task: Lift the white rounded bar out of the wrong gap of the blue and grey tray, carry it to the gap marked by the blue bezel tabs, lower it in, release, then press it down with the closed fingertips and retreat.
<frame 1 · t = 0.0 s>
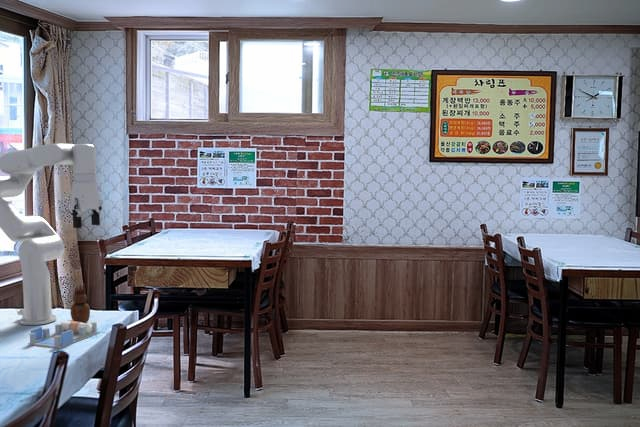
hand: (86, 226, 234), 37 cm above the table, tool pointing down, fingers open, 9 cm apart
white rounded bar: (76, 326, 227), point 3 cm above the table, touching blue and grey tray
blue and grey tray: (64, 338, 221), on the table
wooden figurine: (80, 323, 242), on the table
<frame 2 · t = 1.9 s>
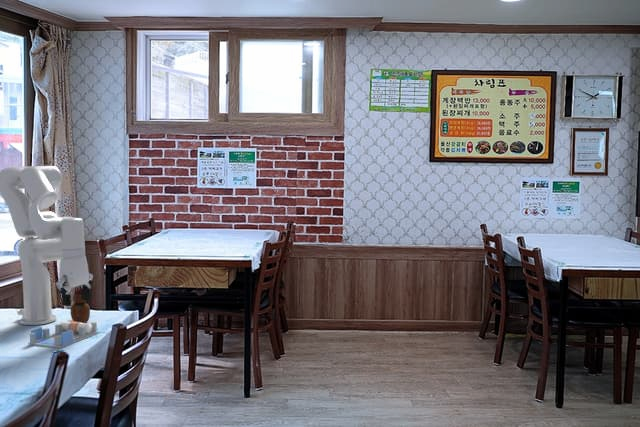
hand: (76, 302, 226), 11 cm above the table, tool pointing down, fingers open, 9 cm apart
white rounded bar: (75, 327, 227), point 3 cm above the table, tilted 8°, touching blue and grey tray
everything else where it was.
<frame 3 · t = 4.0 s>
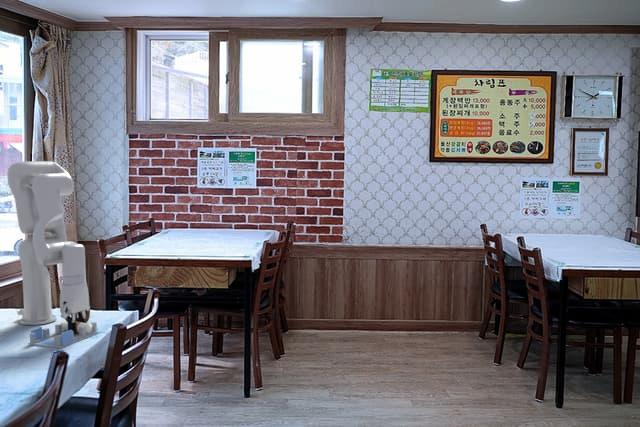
hand: (76, 331, 227), 1 cm above the table, tool pointing down, fingers closed on white rounded bar, 3 cm apart
white rounded bar: (76, 326, 227), point 3 cm above the table, tilted 8°, touching blue and grey tray, gripper
everything else where it was.
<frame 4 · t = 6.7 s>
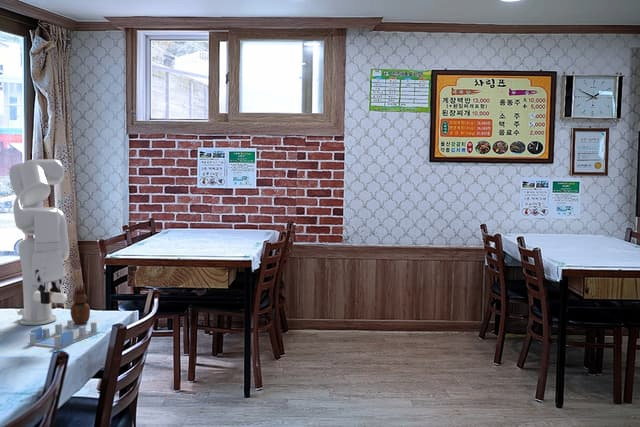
hand: (50, 301, 214), 14 cm above the table, tool pointing down, fingers closed on white rounded bar, 3 cm apart
white rounded bar: (49, 297, 214), point 16 cm above the table, tilted 7°, touching gripper
everything else where it was.
when the fingers open (2 cm above the table, at t = 9.4 s): white rounded bar drops 1 cm, resting on blue and grey tray.
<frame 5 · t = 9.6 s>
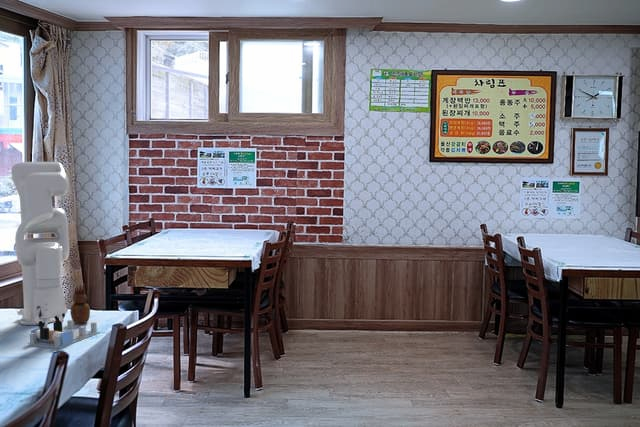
hand: (51, 336, 216), 2 cm above the table, tool pointing down, fingers open, 5 cm apart
white rounded bar: (51, 335, 216), point 3 cm above the table, tilted 8°, touching blue and grey tray
everything else where it was.
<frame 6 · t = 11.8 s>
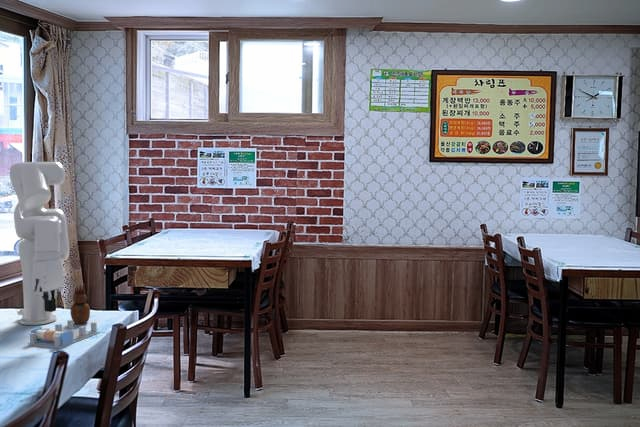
hand: (50, 310, 215), 11 cm above the table, tool pointing down, fingers closed
nothing on the table moved.
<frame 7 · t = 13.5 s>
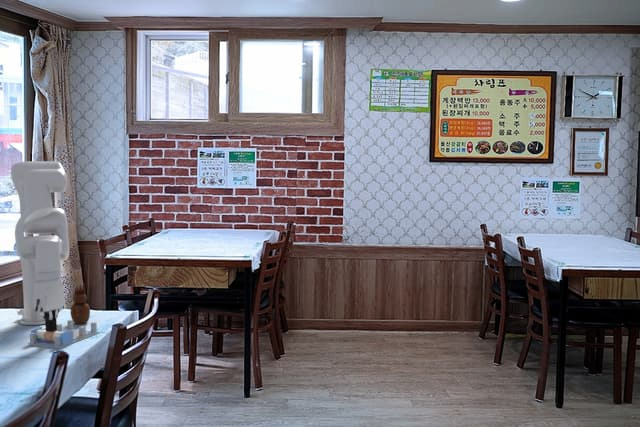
hand: (51, 330, 215), 4 cm above the table, tool pointing down, fingers closed
white rounded bar: (51, 335, 216), point 3 cm above the table, touching blue and grey tray, gripper
everything else where it was.
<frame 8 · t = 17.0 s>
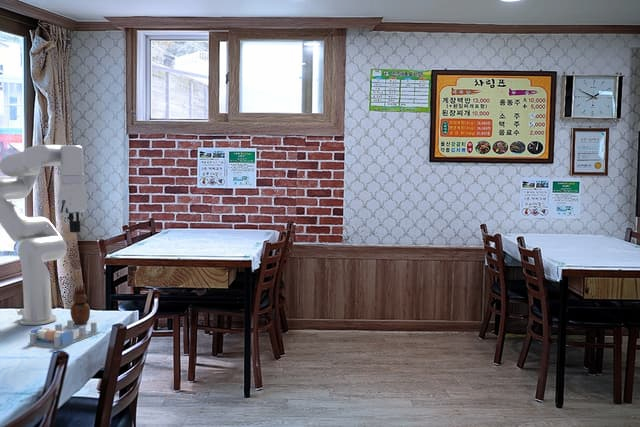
hand: (75, 232, 231), 35 cm above the table, tool pointing down, fingers closed
white rounded bar: (52, 335, 216), point 3 cm above the table, tilted 10°, touching blue and grey tray
everything else where it was.
at the end: white rounded bar 0.5 cm from the target spot on the blue and grey tray, point 2.6 cm above the blue and grey tray's base; the gripper is holding nothing; white rounded bar moved 11.5 cm from its start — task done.
